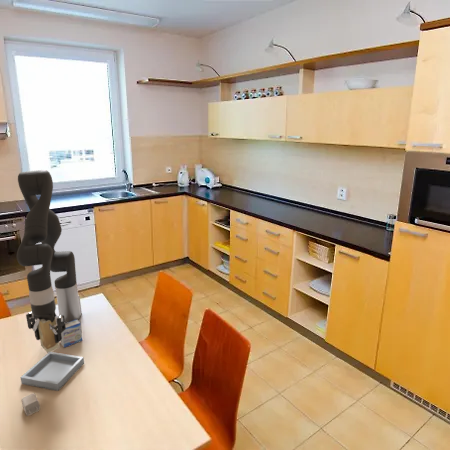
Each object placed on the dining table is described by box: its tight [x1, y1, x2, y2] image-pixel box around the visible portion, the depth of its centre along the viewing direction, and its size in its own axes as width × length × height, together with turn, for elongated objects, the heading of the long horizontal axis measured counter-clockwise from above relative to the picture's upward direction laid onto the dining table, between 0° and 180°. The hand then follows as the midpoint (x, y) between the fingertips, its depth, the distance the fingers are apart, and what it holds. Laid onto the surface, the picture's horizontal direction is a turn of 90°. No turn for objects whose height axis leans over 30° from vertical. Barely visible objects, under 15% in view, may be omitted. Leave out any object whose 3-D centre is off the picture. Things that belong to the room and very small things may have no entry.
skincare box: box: [38, 319, 60, 354], centre depth 126 cm, size 6×4×12 cm
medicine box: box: [59, 319, 83, 348], centre depth 148 cm, size 8×4×9 cm, turn 131°
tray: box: [20, 351, 85, 392], centre depth 130 cm, size 15×15×3 cm
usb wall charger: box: [21, 392, 41, 417], centre depth 113 cm, size 4×7×4 cm, turn 41°
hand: (48, 340), depth 127 cm, fingers closed on skincare box, 7 cm apart
